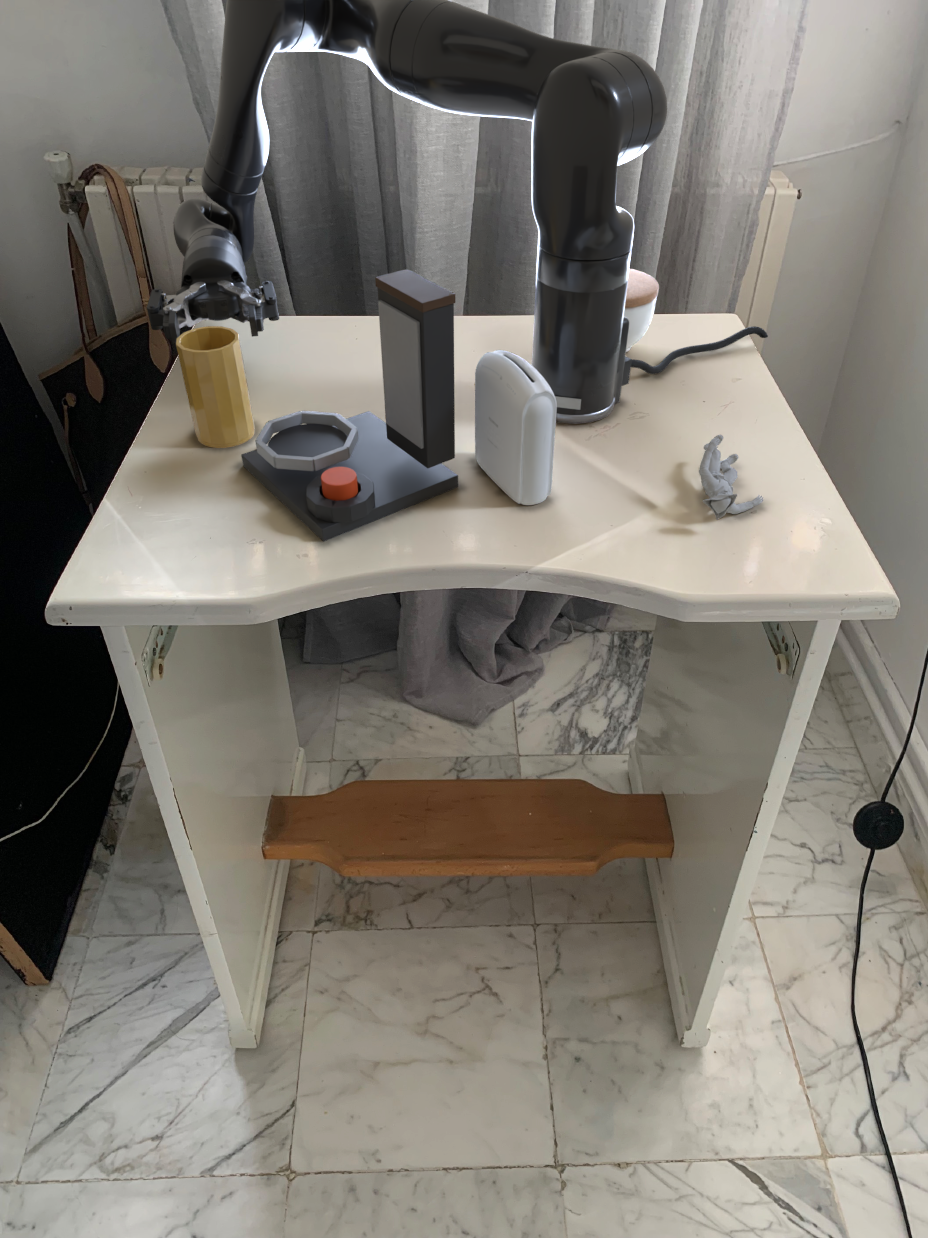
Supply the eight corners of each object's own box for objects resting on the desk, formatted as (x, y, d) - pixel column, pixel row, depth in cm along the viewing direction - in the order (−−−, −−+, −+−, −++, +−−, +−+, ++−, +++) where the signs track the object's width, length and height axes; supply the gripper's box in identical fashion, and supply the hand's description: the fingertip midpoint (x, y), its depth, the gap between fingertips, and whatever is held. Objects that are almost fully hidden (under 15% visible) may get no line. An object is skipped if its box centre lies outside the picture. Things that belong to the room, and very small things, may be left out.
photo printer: (468, 460, 91) (469, 343, 83) (506, 450, 92) (510, 334, 84) (517, 511, 84) (522, 390, 76) (556, 500, 85) (566, 379, 77)
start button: (346, 478, 84) (344, 462, 82) (364, 494, 82) (363, 477, 80) (316, 490, 82) (314, 473, 81) (334, 506, 80) (332, 489, 79)
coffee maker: (370, 397, 95) (359, 243, 84) (456, 458, 86) (455, 293, 75) (243, 440, 88) (214, 278, 78) (321, 510, 79) (300, 338, 69)
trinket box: (657, 363, 108) (669, 285, 101) (567, 363, 108) (574, 285, 101) (642, 326, 116) (652, 251, 110) (559, 327, 116) (564, 252, 109)
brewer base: (370, 422, 97) (368, 396, 95) (461, 489, 87) (461, 462, 85) (243, 466, 90) (238, 439, 88) (326, 545, 80) (323, 517, 78)
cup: (239, 414, 98) (222, 320, 91) (265, 436, 95) (249, 341, 88) (187, 430, 96) (166, 335, 89) (212, 454, 92) (191, 357, 85)
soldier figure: (756, 479, 90) (783, 512, 79) (716, 509, 92) (737, 546, 81) (709, 419, 88) (730, 445, 77) (669, 451, 90) (684, 481, 79)
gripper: (147, 249, 106) (138, 302, 94) (269, 241, 108) (275, 292, 97) (160, 311, 111) (154, 369, 99) (277, 302, 113) (284, 358, 101)
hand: (214, 331), depth 98 cm, fingers open, 8 cm apart
